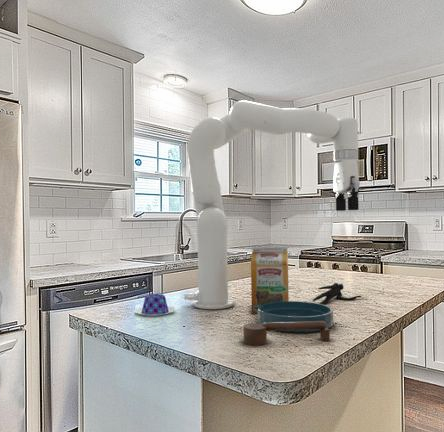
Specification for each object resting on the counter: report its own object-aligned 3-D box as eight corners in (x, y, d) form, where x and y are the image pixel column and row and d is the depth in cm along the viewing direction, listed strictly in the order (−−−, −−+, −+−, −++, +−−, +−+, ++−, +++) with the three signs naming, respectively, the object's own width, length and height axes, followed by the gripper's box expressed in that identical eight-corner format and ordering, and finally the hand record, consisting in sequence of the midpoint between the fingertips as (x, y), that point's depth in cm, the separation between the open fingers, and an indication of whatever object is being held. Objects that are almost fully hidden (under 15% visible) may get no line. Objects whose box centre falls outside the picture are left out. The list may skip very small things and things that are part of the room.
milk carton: (288, 306, 130) (287, 246, 130) (288, 314, 119) (287, 248, 119) (255, 305, 132) (254, 246, 132) (251, 313, 121) (250, 248, 122)
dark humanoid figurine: (332, 288, 123) (358, 273, 143) (306, 294, 128) (335, 278, 148) (341, 314, 122) (366, 295, 142) (315, 319, 127) (342, 300, 147)
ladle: (245, 345, 90) (244, 326, 90) (242, 339, 96) (241, 320, 96) (332, 343, 91) (332, 323, 91) (324, 336, 96) (324, 318, 96)
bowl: (265, 334, 99) (265, 318, 99) (253, 315, 118) (252, 301, 118) (344, 332, 99) (344, 316, 99) (319, 314, 119) (318, 300, 119)
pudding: (152, 319, 115) (152, 300, 115) (126, 313, 124) (126, 295, 124) (183, 312, 124) (183, 294, 124) (157, 306, 132) (157, 290, 132)
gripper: (325, 161, 141) (326, 211, 141) (345, 153, 124) (346, 209, 124) (346, 160, 142) (347, 210, 142) (369, 152, 124) (370, 209, 124)
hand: (346, 210), depth 133 cm, fingers open, 9 cm apart
